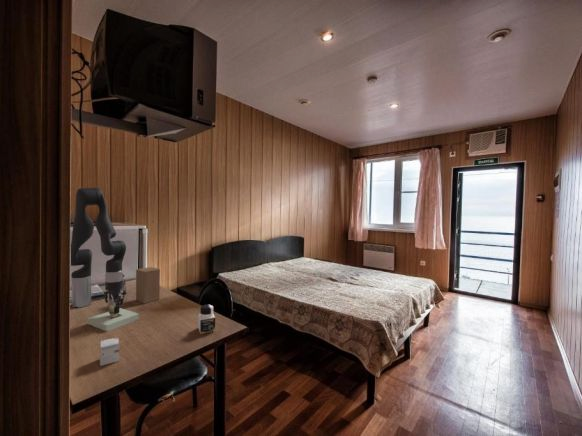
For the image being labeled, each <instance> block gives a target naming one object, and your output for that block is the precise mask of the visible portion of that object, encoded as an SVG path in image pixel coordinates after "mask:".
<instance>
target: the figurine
mask: <svg viewBox="0 0 582 436" xmlns="http://www.w3.org/2000/svg"><path fill="white" fill-rule="evenodd" d="M124 277H125V275H124V274H123V278H124ZM126 285H127V284H126V280H125V279H123V287H122V288H121V289H120V292H122V293H123V294H124V295H127V287H126Z"/></svg>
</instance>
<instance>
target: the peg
mask: <svg viewBox="0 0 582 436" xmlns="http://www.w3.org/2000/svg"><path fill="white" fill-rule="evenodd" d="M116 300H117V299H116ZM116 300H115V301H116ZM116 304H117V302H116ZM108 312H109V313H110V319H114V318H116V317H118V313H117V314H114V303H113V302H112V299H109V305H108Z"/></svg>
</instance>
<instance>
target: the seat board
mask: <svg viewBox="0 0 582 436" xmlns="http://www.w3.org/2000/svg"><path fill="white" fill-rule="evenodd" d="M139 317H140V314H139V313H137V312H135V311H131V310H128V309H126V308H125V309H124V308H121V307H119V313H118V317H116V318H114V319H110V313H109V311H107V312H106V311H105V312H104V313H100V314H97V315H94V316H91V317H88V318H87V325H90V326H91V325H92V327H95V328H96V329H99V330H101V331H105V332H110V331H113V330H115V329H117V328H119V327H120V328H121V327H122V326H126V325H127V324H131V323H134V322H136V321H138V320H140V318H139Z"/></svg>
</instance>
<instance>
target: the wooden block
mask: <svg viewBox="0 0 582 436" xmlns="http://www.w3.org/2000/svg"><path fill="white" fill-rule="evenodd" d="M160 270H161V269H160V268H156V267H155V266H154V267H153V266H149V267H144V268H143V267H142V268H137V269H136V273H135V278H136V279H135V280H136V281H135V286H136V287H135V301H137V302H140V303H141V304H144V305H145V304H149V303H151V302H155V301H159V300H160V294H161V293H160V289H161V286H160V284H161V283H160V281H161V280H160V279H161V271H160Z"/></svg>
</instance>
